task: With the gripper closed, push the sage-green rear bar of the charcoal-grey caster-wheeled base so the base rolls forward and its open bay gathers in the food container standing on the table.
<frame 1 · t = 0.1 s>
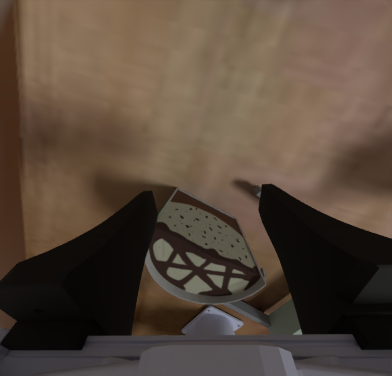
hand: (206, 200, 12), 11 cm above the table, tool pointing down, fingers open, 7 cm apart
rolling base: (268, 274, 25), point 3 cm above the table, slide at 0.0 cm
food container: (196, 219, 25), on the table
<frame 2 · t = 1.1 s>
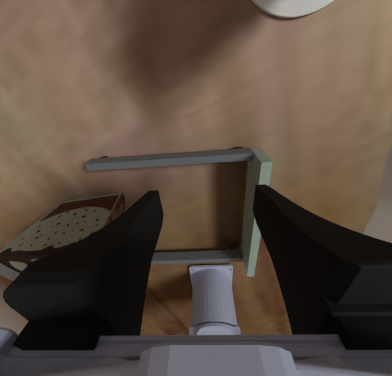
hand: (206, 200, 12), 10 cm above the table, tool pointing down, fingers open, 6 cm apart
rolling base: (181, 221, 23), point 3 cm above the table, slide at 0.0 cm
food container: (101, 212, 26), on the table
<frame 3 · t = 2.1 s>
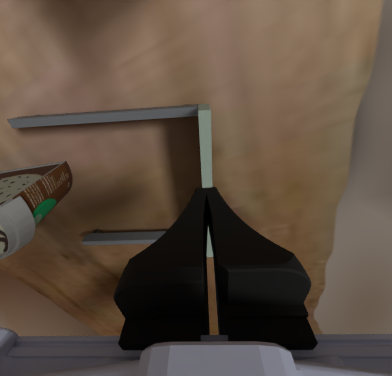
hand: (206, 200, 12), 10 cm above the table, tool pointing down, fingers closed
rolling base: (130, 193, 21), point 3 cm above the table, slide at 0.0 cm
food container: (48, 185, 24), on the table
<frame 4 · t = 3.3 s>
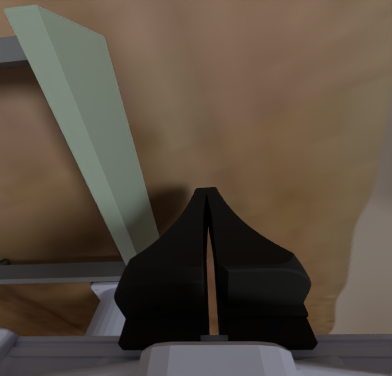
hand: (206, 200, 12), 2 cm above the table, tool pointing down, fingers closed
rolling base: (7, 212, 12), point 3 cm above the table, slide at 0.0 cm
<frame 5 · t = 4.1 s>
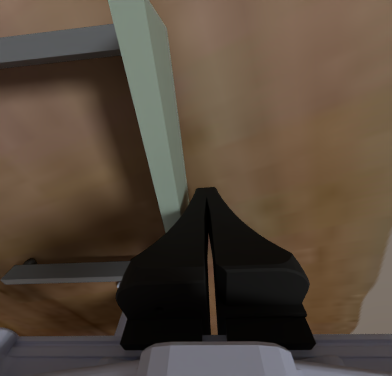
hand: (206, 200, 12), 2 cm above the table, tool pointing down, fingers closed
rolling base: (48, 210, 12), point 3 cm above the table, slide at 0.1 cm, touching gripper
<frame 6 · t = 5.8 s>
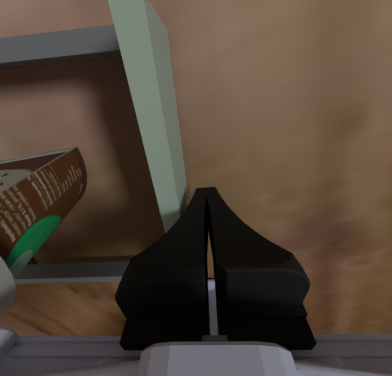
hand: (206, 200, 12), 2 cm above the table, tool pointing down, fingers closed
rolling base: (48, 210, 12), point 3 cm above the table, slide at 10.3 cm, touching gripper
food container: (48, 190, 15), on the table
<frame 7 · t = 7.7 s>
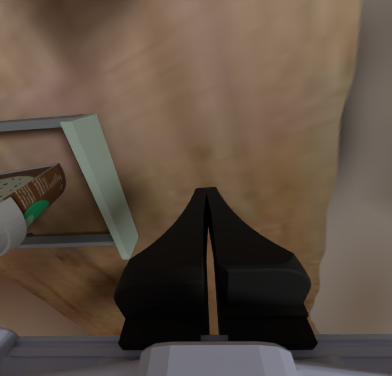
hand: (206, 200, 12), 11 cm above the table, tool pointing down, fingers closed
rolling base: (41, 198, 22), point 3 cm above the table, slide at 10.4 cm
food container: (42, 187, 24), on the table
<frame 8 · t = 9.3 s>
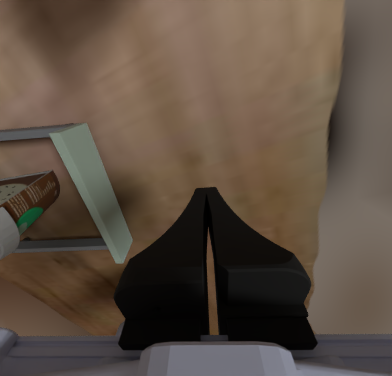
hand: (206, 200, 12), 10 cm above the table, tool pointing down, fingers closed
rolling base: (35, 204, 22), point 3 cm above the table, slide at 10.4 cm
food container: (37, 193, 25), on the table
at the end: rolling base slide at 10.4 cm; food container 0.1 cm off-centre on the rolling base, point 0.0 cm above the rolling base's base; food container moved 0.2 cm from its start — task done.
